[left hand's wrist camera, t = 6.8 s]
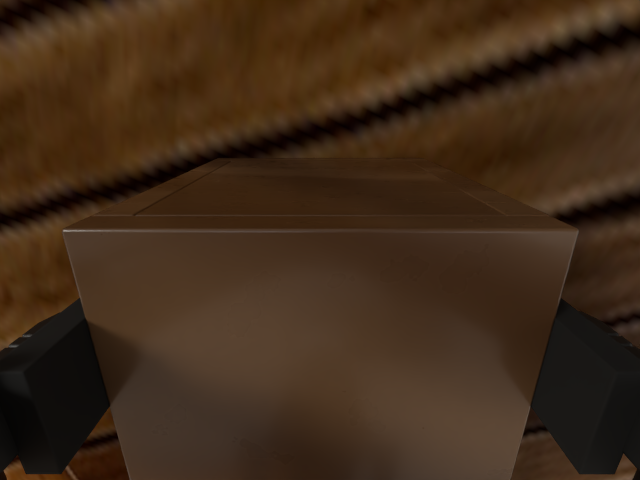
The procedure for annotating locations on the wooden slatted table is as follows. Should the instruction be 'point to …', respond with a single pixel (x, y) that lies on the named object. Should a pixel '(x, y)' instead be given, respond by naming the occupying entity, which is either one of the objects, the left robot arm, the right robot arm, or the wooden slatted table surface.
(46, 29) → the wooden slatted table surface
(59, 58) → the wooden slatted table surface
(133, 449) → the cabinet
